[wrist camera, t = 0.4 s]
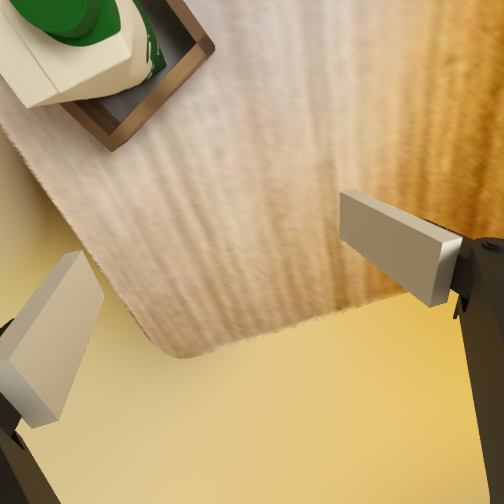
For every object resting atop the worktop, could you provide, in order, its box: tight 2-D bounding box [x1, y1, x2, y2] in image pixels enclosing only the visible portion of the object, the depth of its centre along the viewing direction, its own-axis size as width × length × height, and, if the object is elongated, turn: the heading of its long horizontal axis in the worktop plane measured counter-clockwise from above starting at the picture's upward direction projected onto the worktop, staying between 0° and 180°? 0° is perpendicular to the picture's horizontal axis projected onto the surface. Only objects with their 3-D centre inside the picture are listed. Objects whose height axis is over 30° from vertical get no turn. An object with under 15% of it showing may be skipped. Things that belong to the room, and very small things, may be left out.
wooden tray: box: [59, 0, 215, 152], centre depth 28 cm, size 15×17×6 cm
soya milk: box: [0, 0, 167, 108], centre depth 23 cm, size 9×9×20 cm
